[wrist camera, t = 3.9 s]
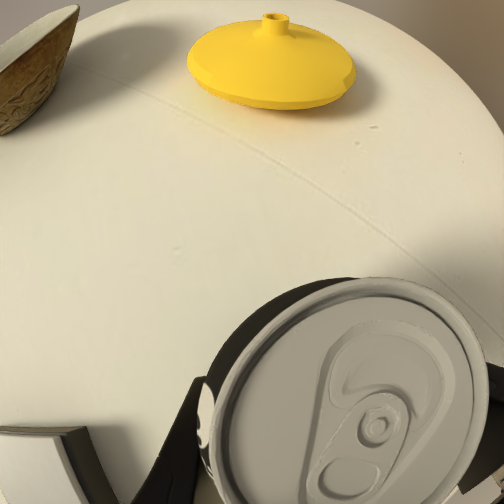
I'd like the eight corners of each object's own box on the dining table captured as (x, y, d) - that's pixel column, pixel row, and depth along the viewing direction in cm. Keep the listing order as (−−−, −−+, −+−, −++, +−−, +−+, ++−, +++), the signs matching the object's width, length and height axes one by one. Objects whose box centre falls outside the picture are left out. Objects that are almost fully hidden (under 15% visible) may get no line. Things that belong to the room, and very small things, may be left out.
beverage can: (357, 353, 15) (522, 323, 4) (310, 450, 13) (412, 567, 2) (258, 308, 16) (289, 195, 5) (207, 407, 14) (125, 505, 3)
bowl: (-7, 95, 27) (-29, 58, 18) (107, 36, 30) (93, -14, 20) (-53, 204, 19) (-96, 165, 10) (84, 127, 22) (43, 47, 12)
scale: (143, 543, 10) (129, 565, 7) (45, 528, 8) (26, 540, 6) (86, 425, 13) (59, 434, 10) (-1, 425, 12) (-27, 428, 9)
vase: (329, 49, 27) (339, 2, 21) (368, 135, 22) (397, 73, 15) (198, 45, 27) (193, -3, 20) (180, 132, 21) (164, 61, 15)
